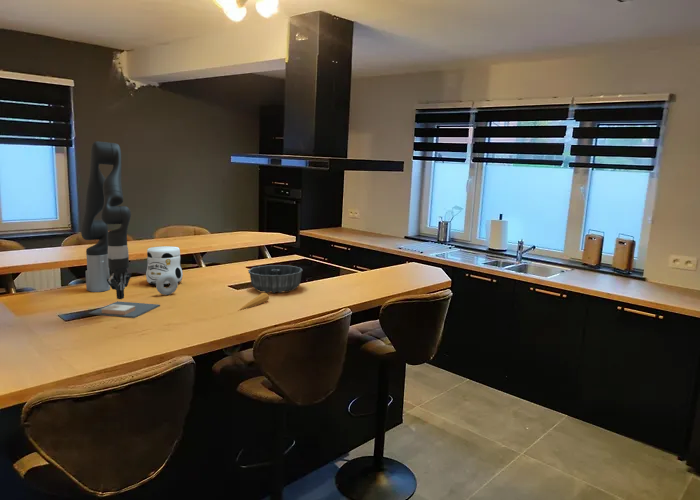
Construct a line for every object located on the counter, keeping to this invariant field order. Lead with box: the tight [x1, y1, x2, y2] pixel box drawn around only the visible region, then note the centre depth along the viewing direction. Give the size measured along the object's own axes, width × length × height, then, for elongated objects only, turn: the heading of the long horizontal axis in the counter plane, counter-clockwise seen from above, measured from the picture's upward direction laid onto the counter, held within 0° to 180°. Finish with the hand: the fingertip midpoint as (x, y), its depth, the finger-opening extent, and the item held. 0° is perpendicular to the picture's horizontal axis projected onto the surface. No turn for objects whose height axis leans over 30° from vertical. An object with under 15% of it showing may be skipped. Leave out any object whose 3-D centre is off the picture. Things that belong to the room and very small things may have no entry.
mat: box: [88, 301, 161, 319], centre depth 207 cm, size 20×18×1 cm
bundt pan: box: [247, 264, 303, 294], centre depth 247 cm, size 26×26×10 cm
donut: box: [155, 274, 179, 296], centre depth 232 cm, size 10×4×10 cm, turn 130°
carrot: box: [237, 292, 270, 312], centre depth 217 cm, size 20×4×4 cm, turn 152°
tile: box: [101, 303, 135, 315], centre depth 202 cm, size 10×2×7 cm
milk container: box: [145, 245, 184, 286], centre depth 253 cm, size 17×17×18 cm
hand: (120, 298), depth 203 cm, fingers closed
